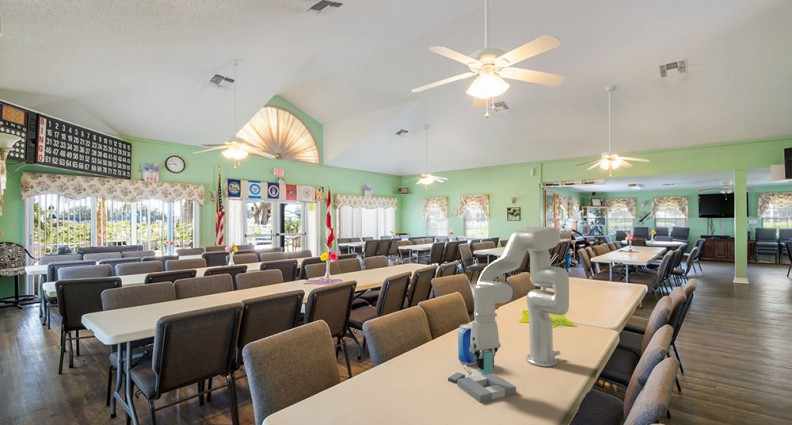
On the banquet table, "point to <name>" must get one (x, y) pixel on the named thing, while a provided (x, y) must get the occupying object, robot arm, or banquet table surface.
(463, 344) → the beer can
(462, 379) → the socket plate
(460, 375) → the phone
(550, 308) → the robot arm
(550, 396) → the banquet table surface
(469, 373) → the cable
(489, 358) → the block
